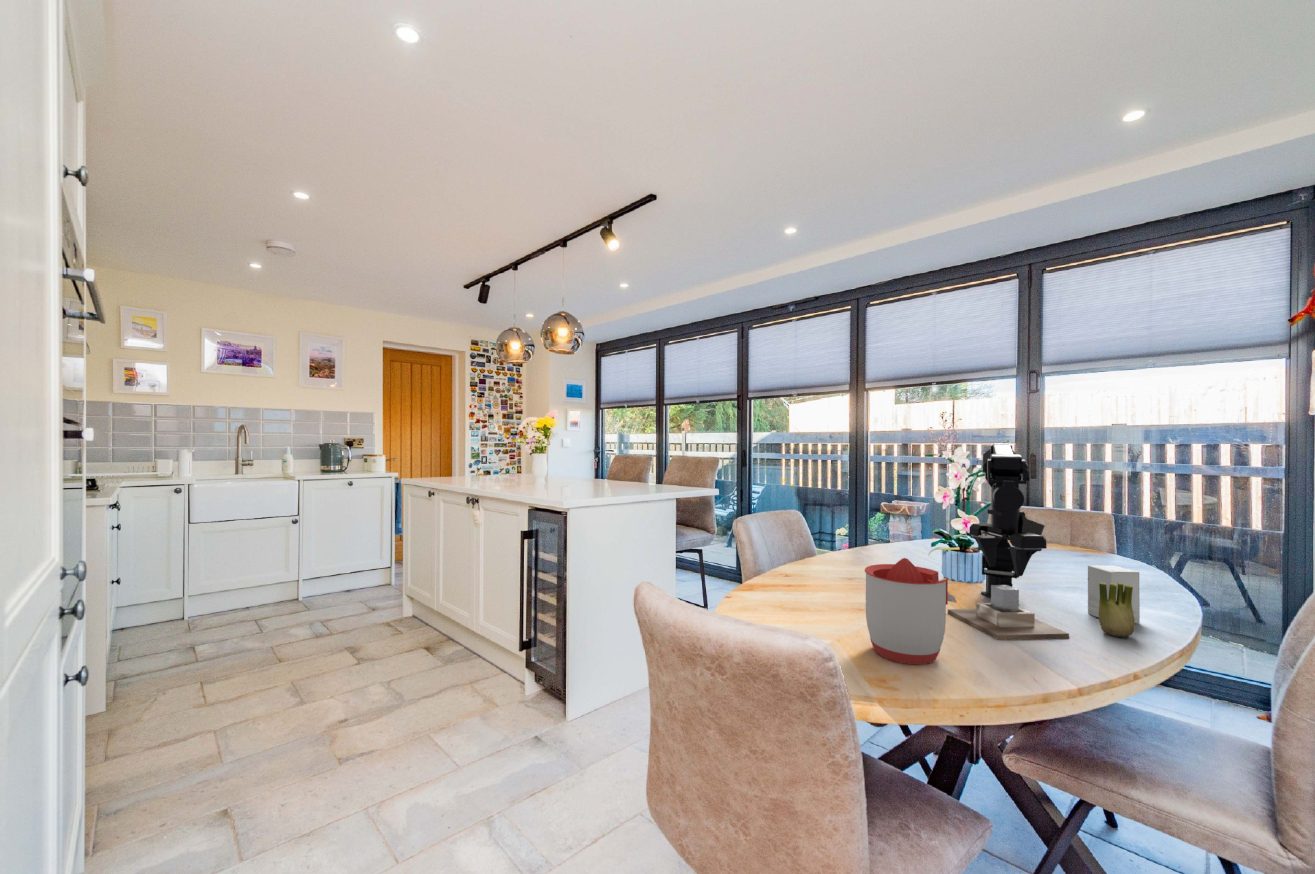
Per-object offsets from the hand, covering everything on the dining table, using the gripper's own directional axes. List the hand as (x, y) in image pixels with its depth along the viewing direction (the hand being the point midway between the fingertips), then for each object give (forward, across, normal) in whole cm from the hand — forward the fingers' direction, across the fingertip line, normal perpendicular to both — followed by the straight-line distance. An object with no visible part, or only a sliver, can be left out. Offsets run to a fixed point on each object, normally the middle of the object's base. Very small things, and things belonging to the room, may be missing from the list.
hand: (1005, 570), depth 129 cm
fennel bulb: (+13, -8, -21) cm, 26 cm away
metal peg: (+12, 0, 0) cm, 12 cm away
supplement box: (+13, +3, -31) cm, 34 cm away
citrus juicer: (+13, -16, +33) cm, 39 cm away
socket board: (+13, 0, 0) cm, 13 cm away
